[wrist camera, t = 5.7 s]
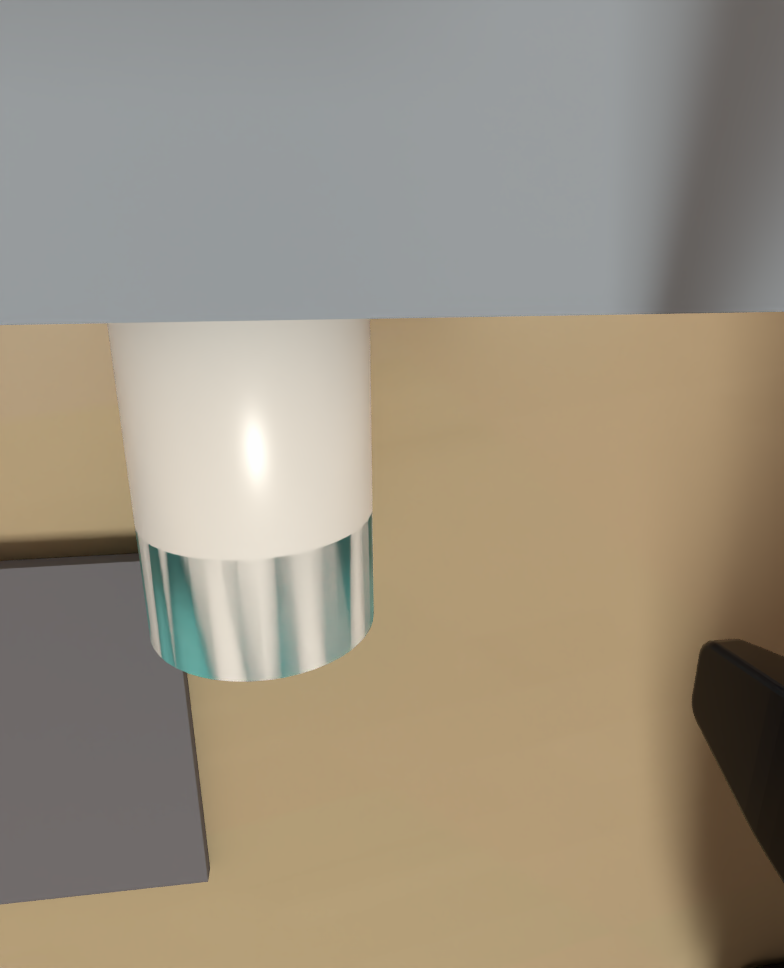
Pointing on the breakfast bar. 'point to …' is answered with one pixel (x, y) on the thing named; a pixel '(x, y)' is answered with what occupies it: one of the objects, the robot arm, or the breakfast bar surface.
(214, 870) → the breakfast bar surface
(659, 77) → the housing
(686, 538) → the breakfast bar surface
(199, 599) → the cylinder
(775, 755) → the robot arm
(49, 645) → the mat
